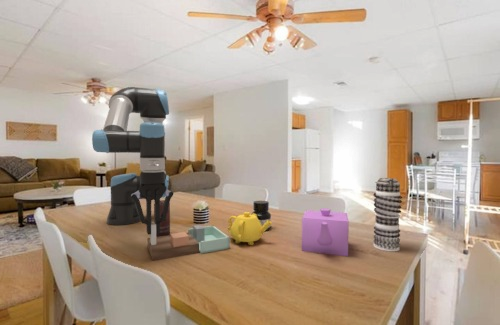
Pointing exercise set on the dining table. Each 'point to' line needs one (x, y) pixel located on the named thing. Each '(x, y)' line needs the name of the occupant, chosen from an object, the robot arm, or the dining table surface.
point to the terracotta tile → (179, 239)
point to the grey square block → (198, 233)
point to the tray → (212, 240)
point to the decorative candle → (387, 214)
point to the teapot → (247, 228)
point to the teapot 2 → (325, 232)
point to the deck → (171, 248)
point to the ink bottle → (262, 212)
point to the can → (164, 224)
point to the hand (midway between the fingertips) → (153, 243)
